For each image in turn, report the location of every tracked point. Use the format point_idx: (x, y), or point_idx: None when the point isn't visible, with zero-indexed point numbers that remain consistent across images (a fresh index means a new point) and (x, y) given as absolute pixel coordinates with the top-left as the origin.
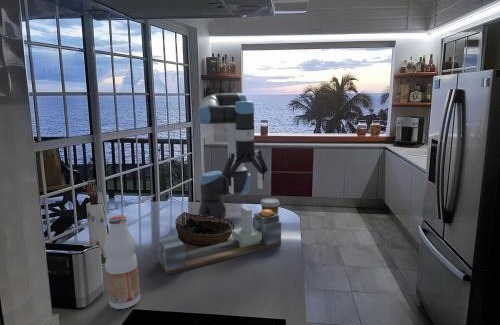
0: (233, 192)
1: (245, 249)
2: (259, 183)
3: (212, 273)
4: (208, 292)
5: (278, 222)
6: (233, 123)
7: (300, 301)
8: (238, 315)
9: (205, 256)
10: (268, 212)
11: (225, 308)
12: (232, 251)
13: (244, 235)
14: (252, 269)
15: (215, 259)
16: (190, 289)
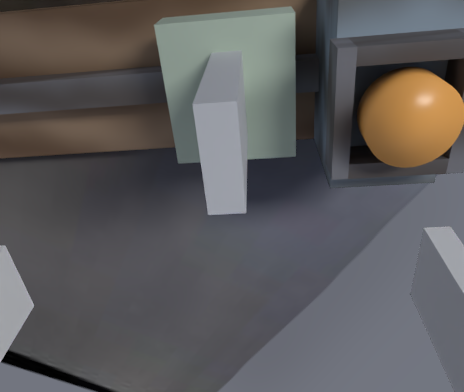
0: (23, 318)
1: None
2: (444, 323)
3: (37, 216)
4: None
5: (421, 176)
6: None
7: (218, 389)
8: (76, 375)
9: (8, 120)
10: (403, 160)
11: (53, 352)
12: (136, 128)
13: (196, 142)
14: (174, 248)
15: (52, 153)
16: None
